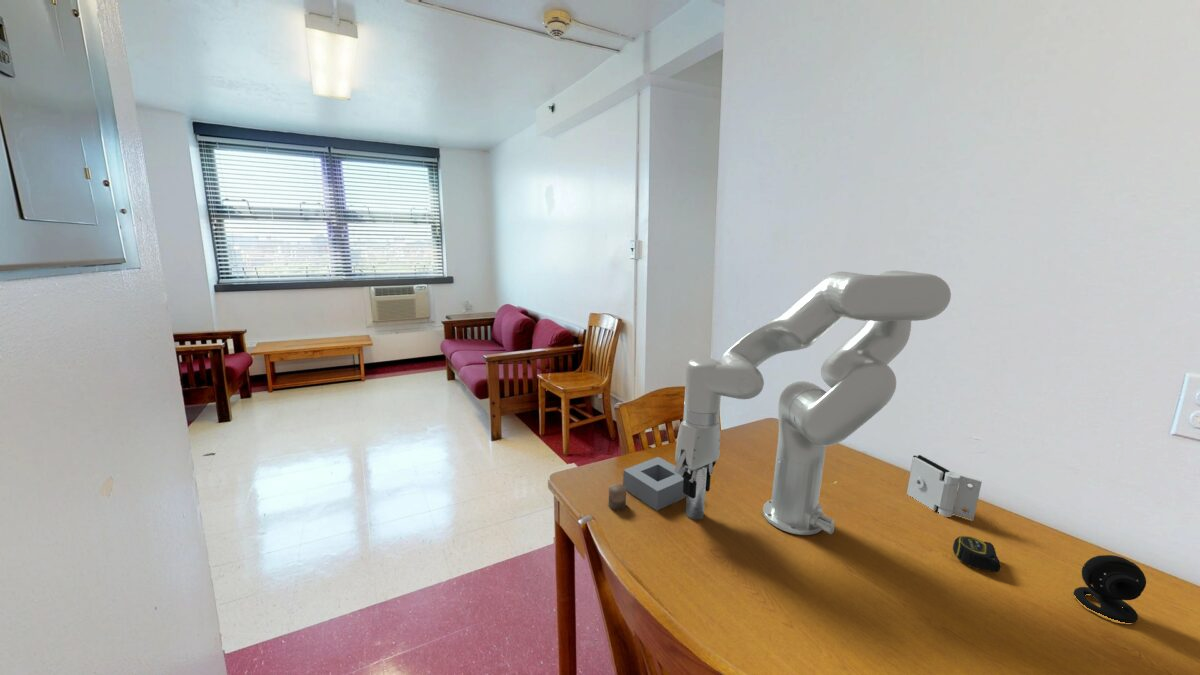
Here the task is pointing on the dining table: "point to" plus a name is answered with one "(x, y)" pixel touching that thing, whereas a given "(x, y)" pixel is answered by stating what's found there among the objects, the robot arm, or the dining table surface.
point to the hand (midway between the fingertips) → (696, 491)
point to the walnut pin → (617, 497)
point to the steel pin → (697, 495)
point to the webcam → (1112, 586)
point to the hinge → (942, 488)
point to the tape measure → (976, 553)
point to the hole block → (654, 483)
